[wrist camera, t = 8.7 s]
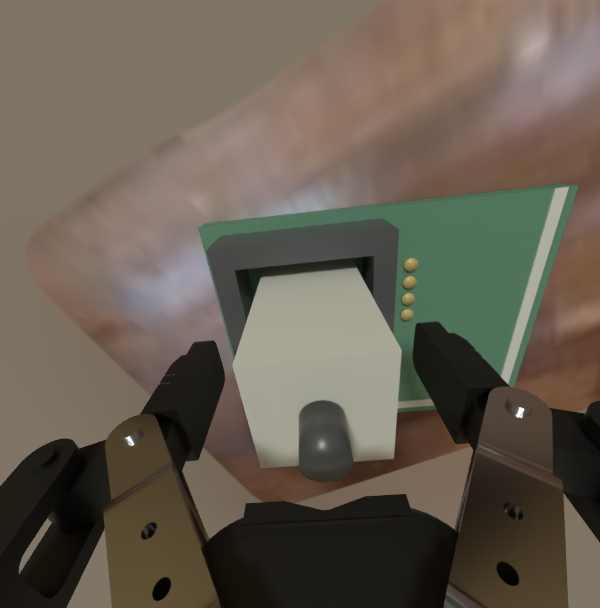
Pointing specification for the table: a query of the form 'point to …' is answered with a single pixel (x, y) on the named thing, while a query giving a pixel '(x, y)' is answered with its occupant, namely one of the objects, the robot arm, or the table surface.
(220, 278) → the frame
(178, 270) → the table surface
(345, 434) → the plug
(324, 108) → the table surface
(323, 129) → the table surface
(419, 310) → the header board
